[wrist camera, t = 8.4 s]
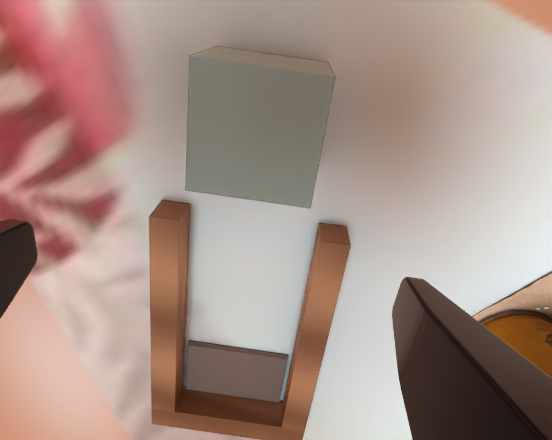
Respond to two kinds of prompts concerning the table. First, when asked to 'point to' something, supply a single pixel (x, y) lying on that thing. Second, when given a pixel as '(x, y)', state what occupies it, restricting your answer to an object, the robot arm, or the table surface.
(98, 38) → the table surface
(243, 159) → the block
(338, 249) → the channel
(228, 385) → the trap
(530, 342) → the condiment
